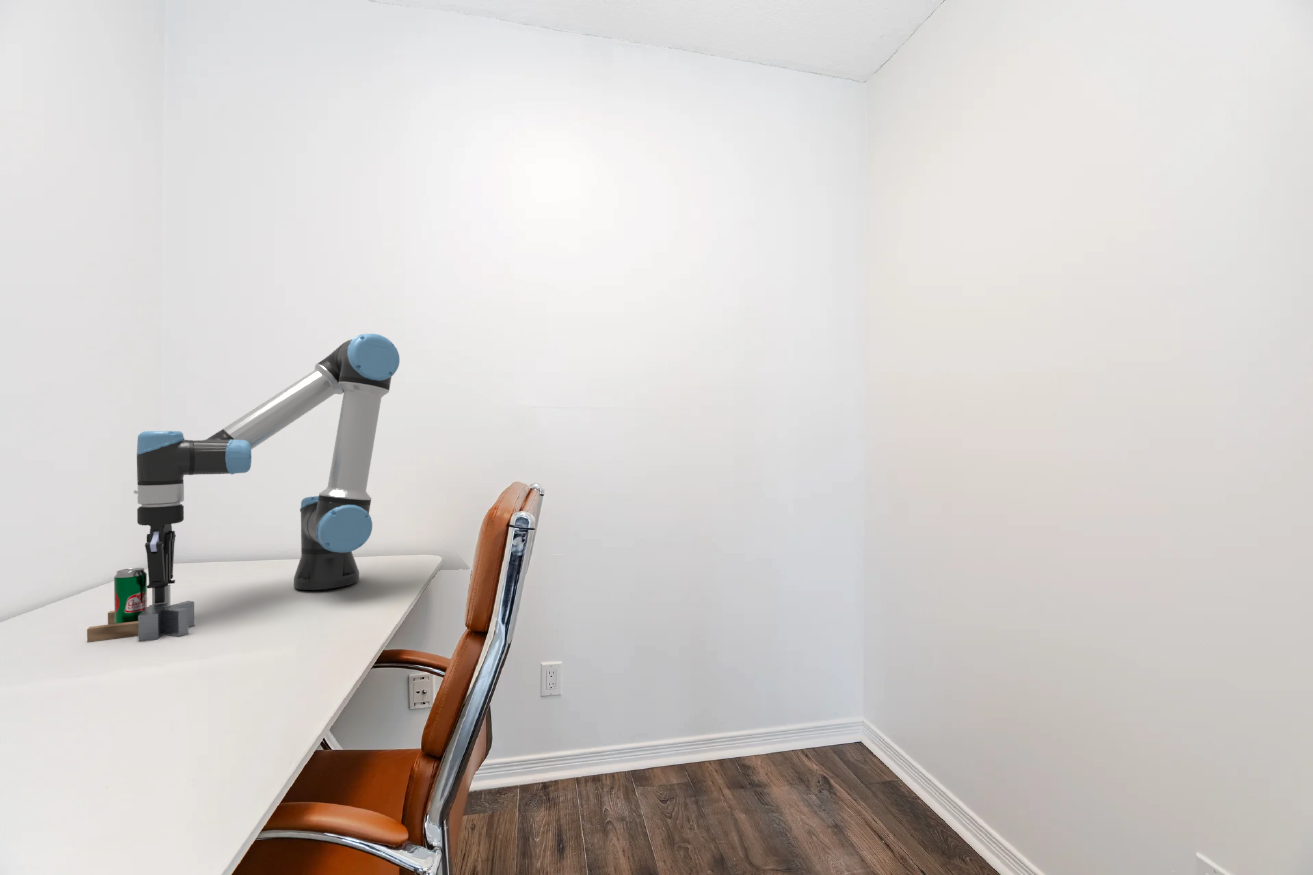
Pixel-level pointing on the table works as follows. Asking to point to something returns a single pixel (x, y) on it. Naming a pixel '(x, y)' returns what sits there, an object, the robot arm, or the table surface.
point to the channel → (112, 630)
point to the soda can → (130, 594)
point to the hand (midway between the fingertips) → (161, 616)
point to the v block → (165, 620)
